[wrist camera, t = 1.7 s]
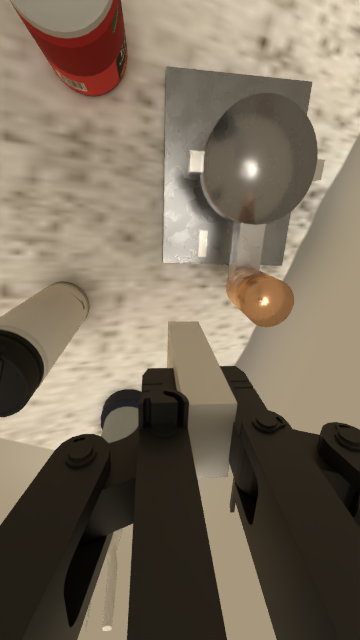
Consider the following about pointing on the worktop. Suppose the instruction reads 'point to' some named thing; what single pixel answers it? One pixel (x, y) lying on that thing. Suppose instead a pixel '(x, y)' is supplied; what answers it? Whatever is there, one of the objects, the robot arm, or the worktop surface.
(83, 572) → the robot arm
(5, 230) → the worktop surface
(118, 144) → the worktop surface
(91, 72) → the canned food
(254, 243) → the dark dome with handle
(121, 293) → the worktop surface
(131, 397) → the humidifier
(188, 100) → the mount plate
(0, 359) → the travel mug
